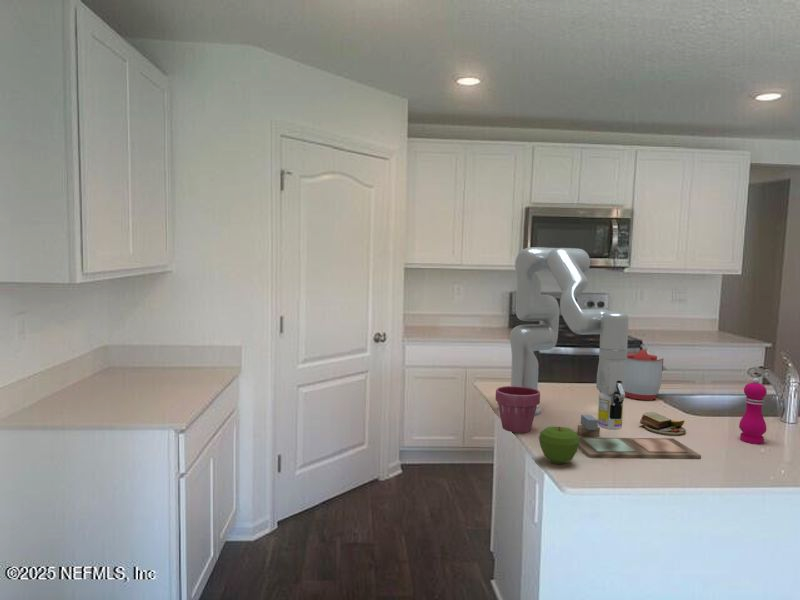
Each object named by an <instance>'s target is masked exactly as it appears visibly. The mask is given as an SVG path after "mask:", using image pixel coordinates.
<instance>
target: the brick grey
mask: <svg viewBox="0 0 800 600" xmlns="http://www.w3.org/2000/svg"><path fill="white" fill-rule="evenodd" d="M580 425H583V426H584V427H585V428H587V429H588V430H597V429H598V427H599V425H598V418H596V417H594V416H592V415H591V414H581V415H580Z"/></svg>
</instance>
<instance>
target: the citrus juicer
mask: <svg viewBox="0 0 800 600" xmlns="http://www.w3.org/2000/svg"><path fill="white" fill-rule="evenodd" d="M625 371H626V385H625V397H627V398H630V399H633V400H635V399H638V400H642V401H643V400H645V401H654V400H655V399H656V398H657V396H658V395H659V391H660V390H661V389H660V388H661V385H662V374H663V371H667V367H666V366H664V358H661V359H660V358H659V359H658V355H654V354H649V353H648V352H647V351H646V350H645V349H644V348H642V349H640V350H639V351H638V352H636V353H627V361H625ZM653 399H654V400H653Z"/></svg>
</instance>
